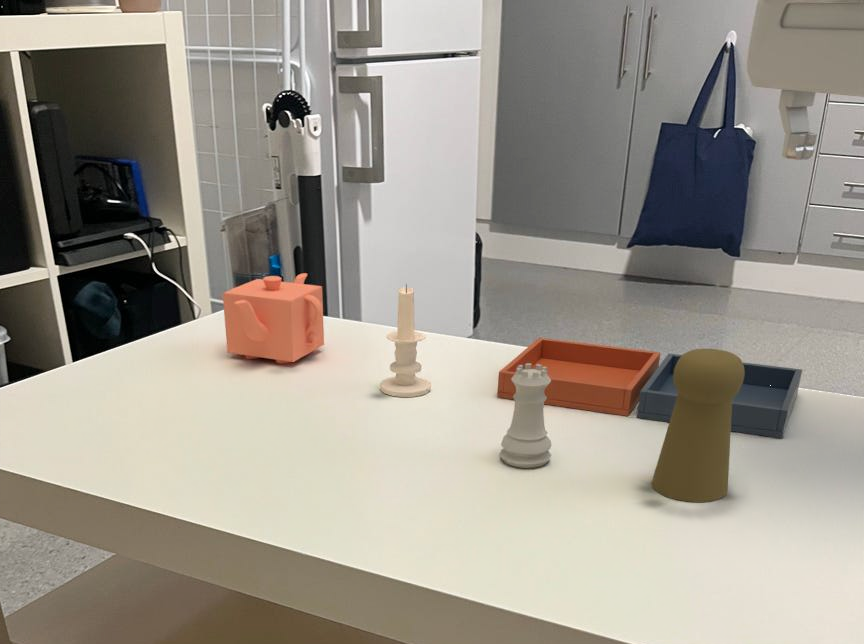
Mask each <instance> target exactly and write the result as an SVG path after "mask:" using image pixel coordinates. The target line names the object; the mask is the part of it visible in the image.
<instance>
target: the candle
mask: <svg viewBox="0 0 864 644" xmlns="http://www.w3.org/2000/svg"><path fill="white" fill-rule="evenodd" d="M397 297H398V299H397V331H392V332H389V333H387V334H386V339H387V340H389V341H391V342H394V346H395V350H394V359H395V361H393V362H391V363H390V364H389V370H390V371H391V372H392V373H394V374H395V376H390V377H387V378H385V379H383V380H382V381H380V383H379V389H380V392H382V393H383V394H385V395H388V396H391V397H397V398H415V397H420V396H423V395H426V394H428V393H430V392H431V388H432V383H431V382H430V381H429V380H428V379H427V378H423V377H419V376H416V374H417V373H419V372H421V371H422V364H421V363H420V362H418V361H417V355H418V350H417V347H418V346H417V345H418V343H419V342H421V341H423V340H425V339H426V335H425V334H424V333H423V332H419V331H415V290H414V288H412V287H408V284H407V283H406V284H405V286H404V287H401V288H399V290H398V296H397Z"/></svg>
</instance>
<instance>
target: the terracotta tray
mask: <svg viewBox="0 0 864 644" xmlns="http://www.w3.org/2000/svg"><path fill="white" fill-rule="evenodd" d="M660 359H661V352H659V351H652V350H645V349H644V350H643V349H637V348H628V347H619V346H611V345H603V344H594V343H587V342H577V341H569V340H562V339H561V340H560V339H554V338H553V339H552V338H544V337H538V338H536V340H535V341H534V342H532V343H531V344H530V345H529V346H527V348H525V349H524V350H522V352H520V353H519V354H518V355H517V356H515V357H514V359H512V360H511V361H510V362H508V363H507V364H506V365H505V366H504V367H502V368H501V369H500V370H499V371H498V379H497V398H500V399H507V400H513V401H515V400H514V398H513V396H514V394H515V393H516V386H515V385H514V383H513V381H512V380H511V379H512V377H513V376H514V375H515V374H516V370H517V366H519V365H523V370H524V369H525V364H531V369H536V364H539V365H542V370H543V367H547V375H548V376H549V378H550V379H551V382H550V383H549V384H548V386H547V387H546V388H545V390H544V394H545V396H546V397H547V399H546V400H545V402H544V405H547V406H549V405H550V406H555V407H561V408H562V407H563V408H570V409H576V410H582V411H590V412H597V413H605V414H611V415H617V416H618V415H619V416H625V417H629V416H630V414H631V412H632V411H633V410H634V409H635V407H636V406H637V405H638V403H639V396H640V391H641V390H642V388H643V387H644V386H645V384H646V383H647V382H648V380H649V379H650V378H651V376H652V375H653V374H654V372H655V371H656V370H657V368H658V367H659V366H660V361H661V360H660Z"/></svg>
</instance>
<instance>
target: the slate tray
mask: <svg viewBox="0 0 864 644" xmlns="http://www.w3.org/2000/svg"><path fill="white" fill-rule="evenodd" d="M682 355H683V354H677V353H668V354H667V355H666V356H665V358H664V359H663V360H662V362H661V363H659V367H658V368H657V370H656V371H655V372H654V374H653V375H652V376H651V378H650V379H649V380H648V382H647V383H646V384H645V386H644V387H643V388H642V390H641V391H640V396H639V402H638V403H637V412H636V418H638V419H643V420H644V419H645V420H653V421H659V422H666V423H669V422H670V419H671V416H672V412H673V409H674V405H675V402H676V399H677V395H678V391H677V389H676V388H675V385H674V379H673V375H674V369H675V366H676V364H677V362H678V360H679V359H680V357H681V356H682ZM742 363H743V365H744V372H745V375H744V380H743V383H742V386H741V388H740V390H739V392H738V393H737V394H736V395H735V396H734V397H733V398H732V416H731V432H733V433H742V434H748V435H754V436H755V435H756V436H763V437H768V438H769V437H770V438H777V439H783V435H784V433H785V430H786V427H787V425H788V421H789V419H790V416H791V414H792V410H793V407H794V404H795V402H796V398H797V396H798V393H799V387H800V383H801V378H802V374H803V373H802V372H803V369H802V368H801V369H800V368H794V367H785V366H776V365H769V364H761V363H751V362H743V361H742ZM770 385H771V386H770Z"/></svg>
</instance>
